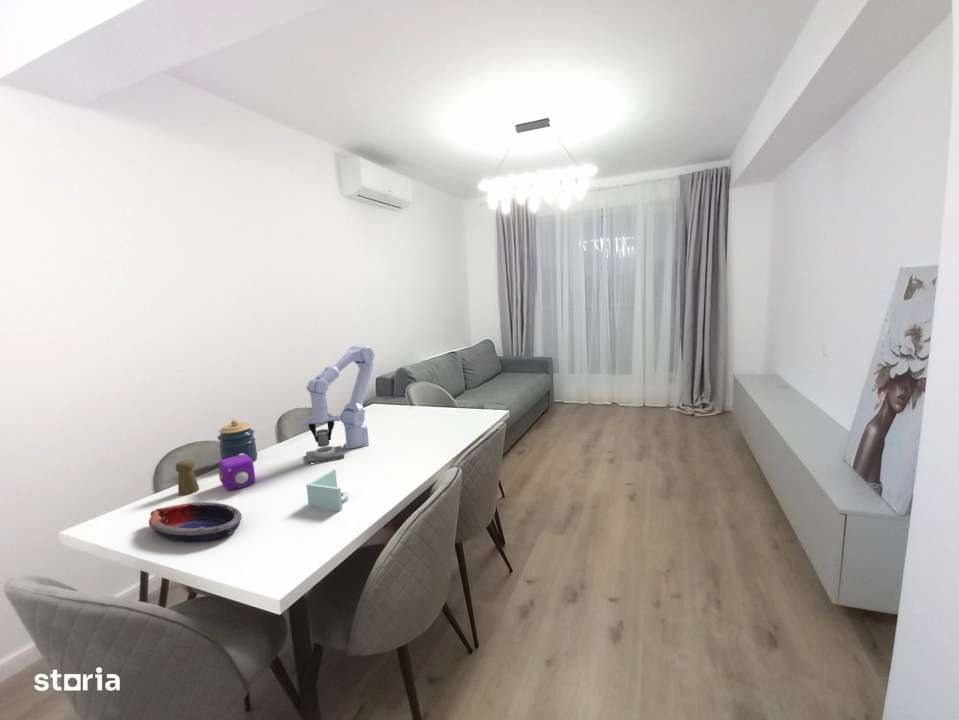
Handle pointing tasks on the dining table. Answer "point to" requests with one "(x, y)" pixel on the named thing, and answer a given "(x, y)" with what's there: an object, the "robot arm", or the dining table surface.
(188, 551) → the dining table surface
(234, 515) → the dish
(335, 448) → the grey flat piece
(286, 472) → the dining table surface
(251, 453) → the canister
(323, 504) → the right angle wall
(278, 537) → the dining table surface
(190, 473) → the olive chess piece
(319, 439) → the lens
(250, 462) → the toy camera
